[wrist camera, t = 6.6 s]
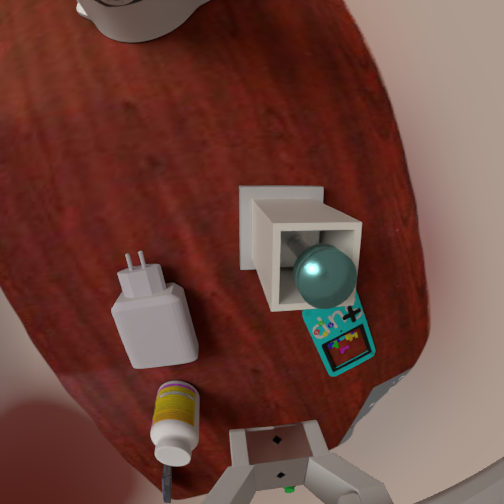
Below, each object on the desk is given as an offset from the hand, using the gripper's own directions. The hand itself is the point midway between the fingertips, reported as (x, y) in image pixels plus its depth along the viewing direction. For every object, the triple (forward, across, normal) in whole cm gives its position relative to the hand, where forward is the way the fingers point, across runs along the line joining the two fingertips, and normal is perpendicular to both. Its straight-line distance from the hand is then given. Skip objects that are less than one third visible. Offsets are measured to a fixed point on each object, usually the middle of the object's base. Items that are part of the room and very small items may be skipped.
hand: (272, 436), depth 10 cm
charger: (+32, +11, +9) cm, 35 cm away
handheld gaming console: (+31, -16, +16) cm, 39 cm away
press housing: (+31, -6, 0) cm, 32 cm away
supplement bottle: (+31, +9, +26) cm, 41 cm away
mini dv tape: (+31, +15, +49) cm, 60 cm away
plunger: (+25, -6, 0) cm, 25 cm away
